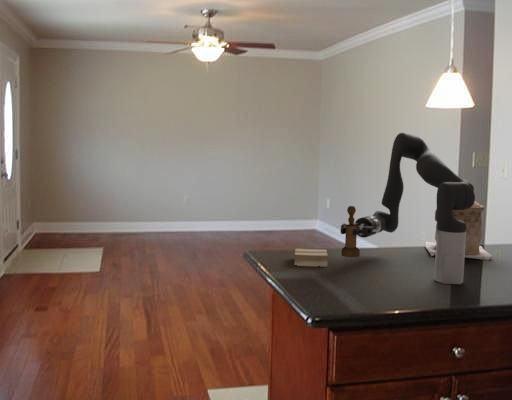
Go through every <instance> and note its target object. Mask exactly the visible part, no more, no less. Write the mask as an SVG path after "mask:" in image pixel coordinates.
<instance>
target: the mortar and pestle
mask: <svg viewBox="0 0 512 400" xmlns="http://www.w3.org/2000/svg"><path fill="white" fill-rule="evenodd" d="M356 211H357V209H356V207H355V206H354V205H349V206H348V207H347V210H346V212H347V214H348V215H349V217H348V218H347V219H348V224H347V225H346V234H345V239H344V240H345V244H344V246H343V247H342V248H341V256H342V257H345V258H359V257H360V256H361V255H360V252H361V250H360V249H359V248H358V247H357V236H358V235H353V229H356V228H357V225H353V224H354V223H355V221H356V220H355V218H354V215H355V213H356Z"/></svg>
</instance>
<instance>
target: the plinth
mask: <svg viewBox="0 0 512 400" xmlns="http://www.w3.org/2000/svg"><path fill="white" fill-rule="evenodd" d="M327 250H328V249H321V248H317V249H316V248H298V247H297V248H295V249H294V263H293V264H294V265H297V267H299V266H300V267H318V266H320V267H324V268H326V267H328V258H329V257H328V251H327ZM320 267H319V268H320Z"/></svg>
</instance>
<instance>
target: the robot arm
mask: <svg viewBox="0 0 512 400" xmlns="http://www.w3.org/2000/svg"><path fill="white" fill-rule="evenodd" d="M402 158H406V159H410V160H414V161H415V162H416V164H415V169H416V172H417V174H418V175H419V176H420V178H421V179H422V180H423V181H424V182H426V183H427V184H428V185H430V186H432V187H435V188H437V191H436V209H437V216H436V219H437V222H436V224H437V239H436V240H435V243H436V255H434V256H435V259H434V260H435V261H434V278H433V279H434V281H435V282H438V283H441V284H444V285H462V284H463V283H464V276H465V275H464V274H465V273H464V272H465V259H466V258H465V242H466V228H467V225H466V223H465V222H463V221H460V220H458V219H456V218H454V217H453V214H452V210H466V209H469V208H471V207H472V206H473V204H474V202H475V201H476V195H475V190H474V191H473V189H472V187H471V186H470V185H469V184H468V183H467V182H466V181H464V180H463V179H464V178H461V177H460V176H459V175H457V174H456V173H455V172H454V171H453V170H451V169H450V167H448V166H447V165H446V164H445V163H444V162H443V160H441V158H439V157H438V156H437V155H436V154H435V153H434V151H432V150H431V149H430V148H429V146H428V144H427V143H426V141H425V140H424V139H423V138H422V137H420V136H417V135H413V134H410V133H406V132H399V133H398V134H397V135H396V136H395V138H394V140H393V143H392V149H391V155H390V160H389V161H390V162H389V167H388V175H387V176H388V177H387V181H386V185H385V188H384V192H383V196H382V200H381V205H382V206H383V207H385V208H386V209H387V210H388V211H389V213H388V212H385V211H382V210H376V211H375V212H374V213H373V214H372V215H368V216H364V217H359V218H357V219H356V220H355V221H354V224H353V225H357V228H356V229H353V235H357V236H358V237H360V238H369V237H371V236H374V235H377V234H379V233H381V232H384V231H385V232H387V233H394V232H395V231H396V230H397V229H398V227H399V214H400V213H399V212H400V211H399V210H400V203H401V200H402V197H403V193H404V188H405V187H404V179H403V176H402V172H401V163H402V162H401V161H402ZM346 225H348V224H347V223H346V222H345V223H342V224H341V225H340V234H341V235H346Z"/></svg>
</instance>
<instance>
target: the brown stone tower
mask: <svg viewBox="0 0 512 400" xmlns="http://www.w3.org/2000/svg"><path fill="white" fill-rule="evenodd" d="M462 179H463V180H464V181H466V182H467V183H468V184H469V185H470V186H471V187H472V189H473V191H474V192H475V188H474V185H473V184H472V183H470V182H469V181H468V180H467V179H465V178H462ZM484 210H485V206H484V205H481V203H479V202H477V201H476V200H475V202H474V204H473V206H472V207H471V208H469V209H466V210H452V214H453V217H454V218H456V219H458V220H460V221H463V222H465V223H466V225H467V228H466V242H465V258H464V259H467V258H468V259H475V260H476V259H478V260H483V261H490V259H491V258H493V256H492V254H491V253H489V252H488V251H486V250H485V249H484V248H483V246H481V240H482V239H483V233H482V226H483V225H482V212H483V211H484ZM436 216H437V208H436V209H435V212H434V221H435V222H436V226H435V234H434V240H435V241H436V239H437V219H436ZM424 246H425V248H426V250H427V251H428V253H429V254H430V256H431V257H432V256H433V257H434V256H436V242H431V241H425V242H424Z"/></svg>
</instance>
